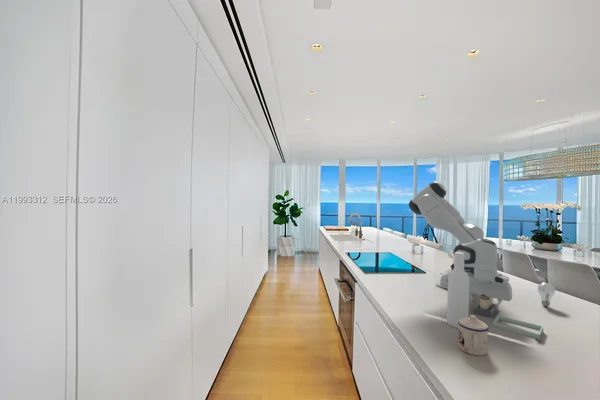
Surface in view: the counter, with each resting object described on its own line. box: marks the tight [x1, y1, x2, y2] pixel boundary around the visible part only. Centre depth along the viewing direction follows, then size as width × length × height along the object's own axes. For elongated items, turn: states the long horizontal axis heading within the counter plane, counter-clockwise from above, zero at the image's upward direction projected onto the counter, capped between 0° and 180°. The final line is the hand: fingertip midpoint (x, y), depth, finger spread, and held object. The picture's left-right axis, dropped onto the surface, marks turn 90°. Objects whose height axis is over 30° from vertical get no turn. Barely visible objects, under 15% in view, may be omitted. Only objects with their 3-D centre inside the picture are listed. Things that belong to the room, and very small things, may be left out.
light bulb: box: [536, 282, 556, 308], centre depth 148 cm, size 7×7×12 cm
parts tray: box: [492, 314, 544, 342], centre depth 119 cm, size 15×11×2 cm
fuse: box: [489, 297, 494, 307], centre depth 139 cm, size 4×4×9 cm
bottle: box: [446, 252, 470, 329], centre depth 123 cm, size 8×8×30 cm
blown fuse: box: [479, 294, 490, 311], centre depth 134 cm, size 4×4×9 cm
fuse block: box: [470, 302, 502, 320], centre depth 136 cm, size 9×14×4 cm, turn 135°
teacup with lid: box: [457, 314, 489, 356], centre depth 101 cm, size 12×9×12 cm
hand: (484, 305), depth 134 cm, fingers open, 8 cm apart
